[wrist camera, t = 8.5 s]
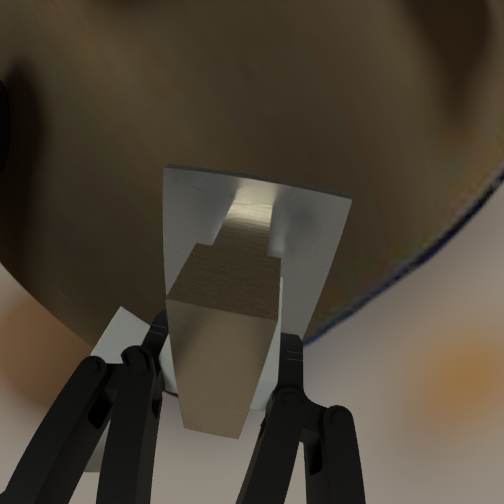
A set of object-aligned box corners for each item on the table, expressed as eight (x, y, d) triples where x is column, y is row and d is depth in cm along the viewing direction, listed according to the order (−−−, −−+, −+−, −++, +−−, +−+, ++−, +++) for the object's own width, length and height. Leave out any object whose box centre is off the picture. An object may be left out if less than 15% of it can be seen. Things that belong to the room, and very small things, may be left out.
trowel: (169, 163, 14) (60, 244, 6) (349, 194, 14) (411, 310, 6) (172, 317, 20) (130, 416, 13) (297, 341, 20) (295, 449, 13)
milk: (110, 327, 32) (38, 462, 13) (121, 304, 29) (33, 464, 10) (147, 351, 34) (88, 491, 15) (163, 332, 31) (95, 498, 12)
